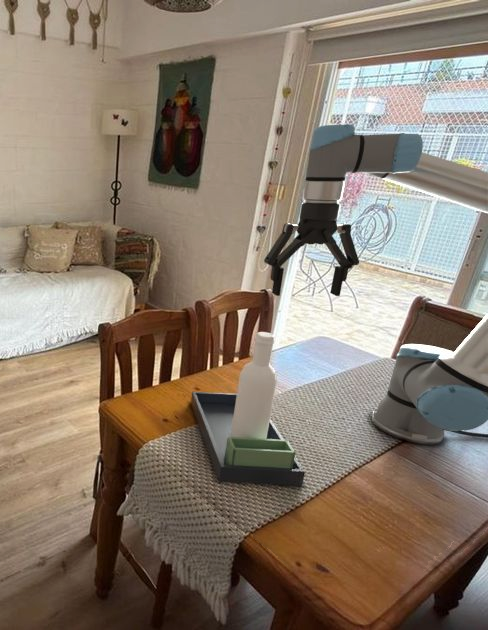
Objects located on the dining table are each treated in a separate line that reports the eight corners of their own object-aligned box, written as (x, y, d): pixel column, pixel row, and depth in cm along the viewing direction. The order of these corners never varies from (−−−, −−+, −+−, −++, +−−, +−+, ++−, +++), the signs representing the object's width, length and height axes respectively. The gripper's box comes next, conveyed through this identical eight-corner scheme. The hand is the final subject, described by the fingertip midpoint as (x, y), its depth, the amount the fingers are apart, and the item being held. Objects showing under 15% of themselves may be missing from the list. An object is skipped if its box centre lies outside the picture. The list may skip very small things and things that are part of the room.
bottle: (257, 441, 109) (278, 328, 99) (268, 461, 101) (291, 342, 92) (224, 439, 109) (241, 327, 100) (233, 459, 102) (251, 340, 92)
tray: (190, 403, 128) (192, 391, 127) (252, 406, 127) (254, 394, 125) (219, 481, 96) (221, 466, 95) (301, 486, 95) (305, 471, 94)
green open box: (223, 462, 101) (227, 436, 99) (281, 466, 100) (287, 439, 98) (229, 475, 97) (233, 449, 94) (289, 479, 96) (295, 452, 93)
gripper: (369, 200, 99) (350, 290, 106) (257, 200, 100) (245, 289, 107) (390, 202, 92) (369, 299, 99) (270, 203, 93) (257, 298, 100)
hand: (305, 294), depth 103 cm, fingers open, 13 cm apart
